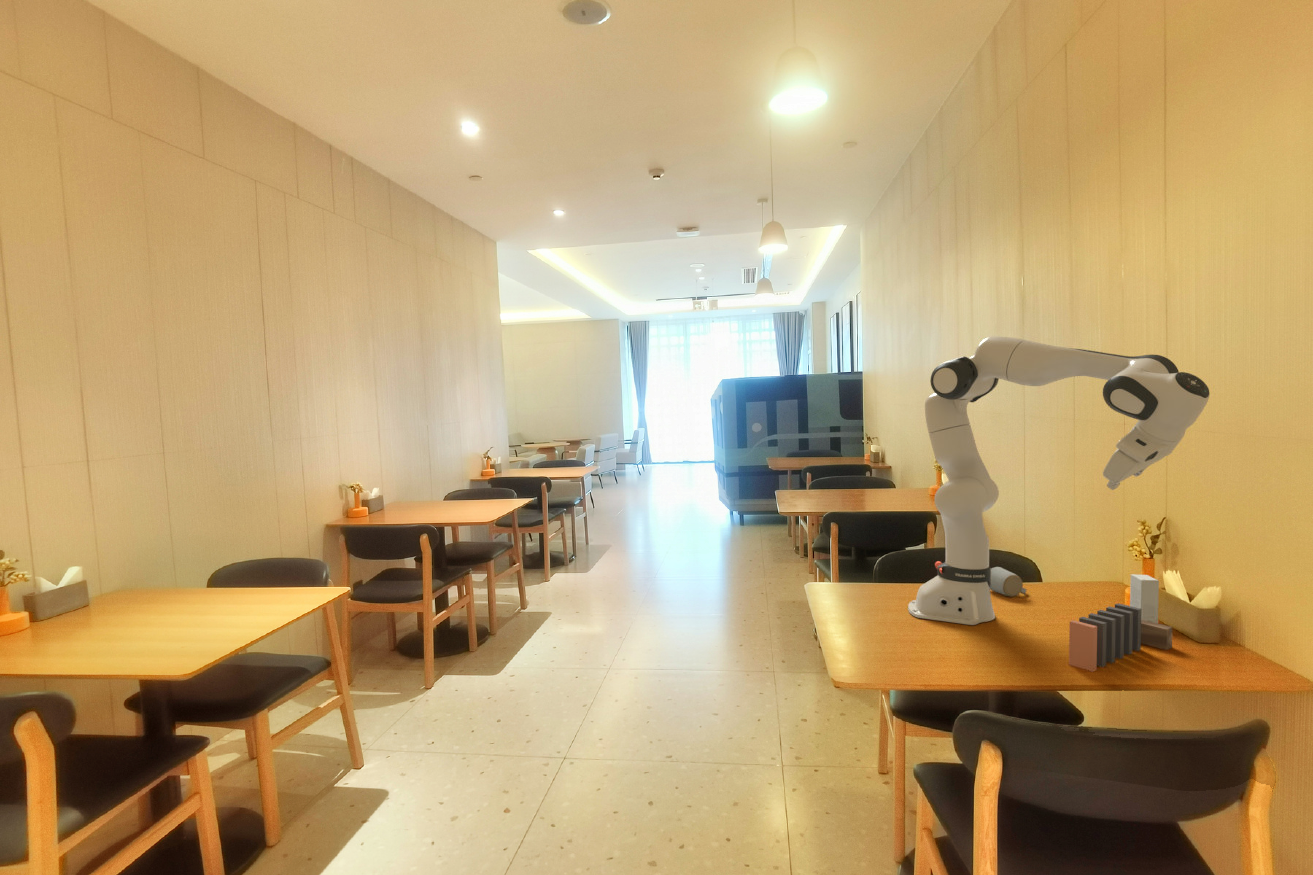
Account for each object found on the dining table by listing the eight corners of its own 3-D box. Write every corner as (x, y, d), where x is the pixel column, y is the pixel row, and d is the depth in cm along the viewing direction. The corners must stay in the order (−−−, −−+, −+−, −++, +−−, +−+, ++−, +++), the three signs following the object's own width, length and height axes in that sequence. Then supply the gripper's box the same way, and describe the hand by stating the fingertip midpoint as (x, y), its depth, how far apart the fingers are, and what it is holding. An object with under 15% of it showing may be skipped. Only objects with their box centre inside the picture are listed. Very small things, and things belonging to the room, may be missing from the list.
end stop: (1166, 649, 156) (1166, 629, 156) (1110, 635, 166) (1110, 615, 166) (1171, 647, 157) (1172, 626, 157) (1116, 632, 168) (1116, 613, 167)
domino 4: (1120, 658, 151) (1121, 616, 151) (1096, 652, 156) (1097, 610, 155) (1123, 657, 152) (1124, 615, 152) (1100, 650, 156) (1100, 609, 156)
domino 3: (1111, 663, 149) (1112, 620, 148) (1087, 656, 153) (1088, 614, 153) (1114, 661, 150) (1115, 618, 149) (1091, 654, 154) (1091, 613, 154)
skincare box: (1158, 625, 172) (1159, 580, 171) (1140, 624, 173) (1141, 580, 172) (1146, 617, 178) (1147, 574, 177) (1128, 616, 179) (1129, 573, 178)
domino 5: (1128, 654, 154) (1129, 613, 153) (1105, 648, 158) (1106, 607, 157) (1132, 653, 154) (1133, 611, 154) (1108, 646, 159) (1109, 606, 158)
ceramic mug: (1004, 599, 197) (1004, 573, 196) (984, 591, 205) (985, 567, 204) (1033, 596, 199) (1034, 571, 199) (1013, 588, 207) (1013, 565, 207)
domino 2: (1102, 667, 147) (1103, 623, 146) (1078, 660, 151) (1079, 617, 151) (1105, 665, 148) (1106, 622, 147) (1082, 658, 152) (1082, 616, 151)
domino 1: (1092, 671, 145) (1093, 627, 144) (1068, 664, 149) (1069, 621, 148) (1096, 670, 146) (1097, 626, 145) (1072, 662, 150) (1073, 619, 149)
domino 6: (1137, 651, 156) (1138, 609, 155) (1113, 644, 160) (1114, 604, 159) (1140, 649, 156) (1141, 608, 156) (1117, 643, 161) (1117, 603, 160)
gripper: (1166, 416, 154) (1136, 458, 164) (1113, 443, 147) (1085, 486, 156) (1193, 432, 150) (1161, 474, 160) (1140, 460, 143) (1110, 503, 152)
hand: (1123, 480), depth 158 cm, fingers open, 8 cm apart
